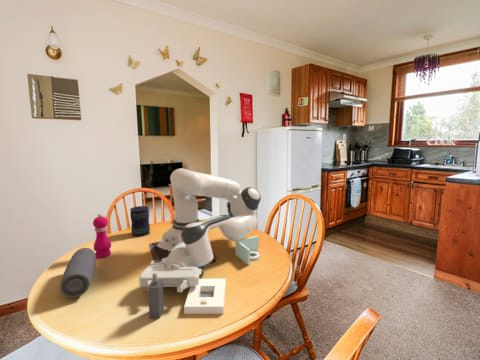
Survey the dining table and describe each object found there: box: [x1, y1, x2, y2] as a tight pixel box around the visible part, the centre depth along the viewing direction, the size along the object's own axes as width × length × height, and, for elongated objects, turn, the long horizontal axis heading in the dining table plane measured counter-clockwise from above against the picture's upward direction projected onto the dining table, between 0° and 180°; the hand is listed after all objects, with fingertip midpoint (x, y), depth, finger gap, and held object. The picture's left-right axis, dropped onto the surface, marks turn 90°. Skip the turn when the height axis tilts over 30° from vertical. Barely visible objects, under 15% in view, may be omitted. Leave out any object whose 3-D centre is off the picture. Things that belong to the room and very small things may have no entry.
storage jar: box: [129, 205, 151, 238], centre depth 144 cm, size 10×10×15 cm
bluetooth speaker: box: [59, 247, 97, 298], centre depth 94 cm, size 23×9×10 cm, turn 24°
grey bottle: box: [147, 273, 165, 319], centre depth 78 cm, size 4×3×13 cm, turn 1°
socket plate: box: [183, 278, 227, 315], centre depth 86 cm, size 16×12×3 cm
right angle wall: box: [234, 235, 261, 266], centre depth 117 cm, size 12×12×8 cm
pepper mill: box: [92, 213, 112, 259], centre depth 117 cm, size 7×7×20 cm
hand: (164, 290), depth 81 cm, fingers open, 8 cm apart
